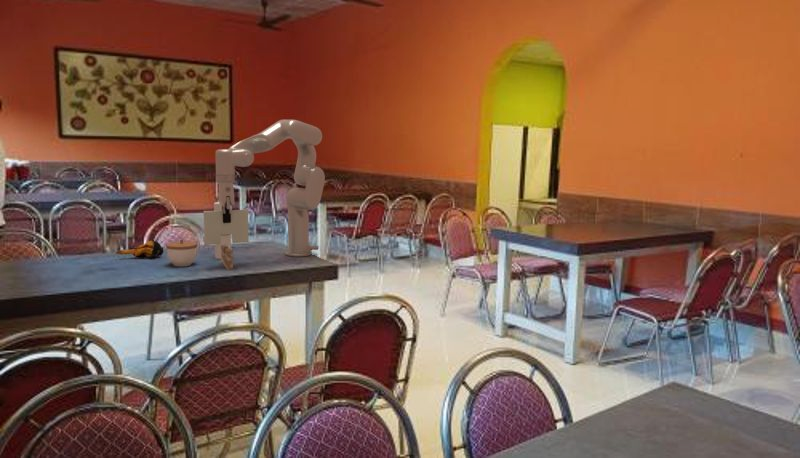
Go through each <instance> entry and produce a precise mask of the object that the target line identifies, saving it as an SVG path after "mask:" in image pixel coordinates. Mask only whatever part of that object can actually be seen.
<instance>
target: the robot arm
mask: <svg viewBox="0 0 800 458" xmlns="http://www.w3.org/2000/svg"><path fill="white" fill-rule="evenodd" d="M288 139H290V140H292V142H293V143H294V145H295V146H296V149H297V161H296V165H295V170H294V173H293V180H294V182H295V184H297V185H300V186H303V187H305V188H303V187H293V188H291V189H289V190H288V191H287V192H286V196H285V202H286V207H287V217H288V218H287V220H288V221H287V223H288V224H287V226H288V227H287V228H288V229H287V236H288V237H287V238H288V240H287V244H288V245H287V246H288V247H287V248H288V249H287V250H286V251H285V252H284V254H285V256H288V257H297V258H298V257H300V258H301V257H309V256H311V255H312V254H313V252H312V251H317V250H319V245H311V244H310V243H309V236H310V235H309V234H310V233H309V231H310V230H309V228H310V226H309V225H310V224H309V222H310V221H309V220H310V217H309V212H308V211H314V210H316V209H317V208H318V207H319V205H320V203H321V200H322V195H323V190H324V186H325V183H326V182H325V180H326V175H325V172H324V170H323V169H322V168H321V167H319V166H316V161H317V152H316V148H315V146H317V145H320V143H321V142H322V139H323V133H322V131H321V129H320V128H318V127H317V126H314V125H313V124H309V123H305V122H303V121H301V120H297V119H279V120H277V121H276V122H275V123H273V124H272V125H270V126H269V127H267V128H265V129H264V130H262V131H261V132H259V133H257V134H254V135H251V136H250V137H247V138H244V139H243V140H240V141H239V142H236V143H235V144H233V145H231V146H230V147H229V148H228V149H226V148H224V149H223V148H220V149H217V150H215V183H217V184H218V202H219V204H220V205H222V210H223V213H224V214H223V223H231V210H232V209H231V208H232V207H235V189H234V183H236V181H235V180H236V179H235V174H236V173H235V171H236V170H235V167H244V168H245V167H249V166H251V165H252V164H253V162H254V160H255V155H254V154H259V153H265V152H268V151H270V150H273V149H274V148H275V147H277V146H278V145H279V144H281V143H283V142H284V141H285V140H288Z"/></svg>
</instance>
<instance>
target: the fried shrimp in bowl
mask: <svg viewBox="0 0 800 458" xmlns="http://www.w3.org/2000/svg"><path fill="white" fill-rule="evenodd" d="M115 253H116V255H133V256H134V258H136V259H139V260H143V259H147V258H148V259H153V258H154V259H155V258H157V257H161V256H162V255H163V254H164V247H163V246H162V245H161V244H160V243H159V242H158V241H156V240H155V239H154V238H151V239H150V240H148V241H147V242H146V243H141V244H140V245H137V246H135V247H133V248H132V249H122V250H117V251H116V252H115Z"/></svg>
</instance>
